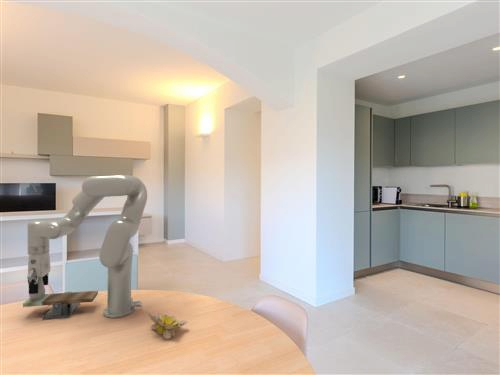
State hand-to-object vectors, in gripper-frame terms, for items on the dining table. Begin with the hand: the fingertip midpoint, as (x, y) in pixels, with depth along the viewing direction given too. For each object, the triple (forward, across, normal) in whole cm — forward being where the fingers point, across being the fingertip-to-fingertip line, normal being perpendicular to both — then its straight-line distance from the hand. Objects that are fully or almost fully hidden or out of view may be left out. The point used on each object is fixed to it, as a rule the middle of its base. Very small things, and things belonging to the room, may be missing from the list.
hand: (38, 289), depth 126 cm
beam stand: (+10, 0, -9) cm, 14 cm away
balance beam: (+6, 0, -9) cm, 11 cm away
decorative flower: (+11, -27, -54) cm, 62 cm away
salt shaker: (+4, 0, +1) cm, 4 cm away
